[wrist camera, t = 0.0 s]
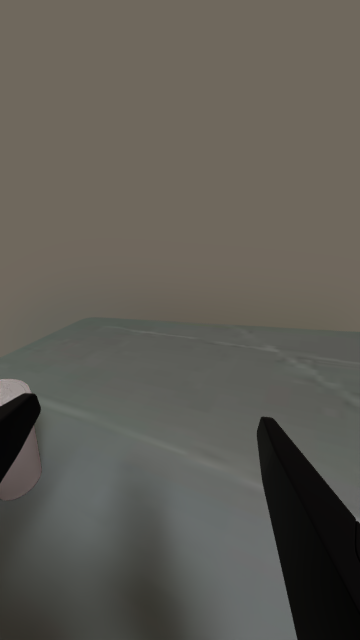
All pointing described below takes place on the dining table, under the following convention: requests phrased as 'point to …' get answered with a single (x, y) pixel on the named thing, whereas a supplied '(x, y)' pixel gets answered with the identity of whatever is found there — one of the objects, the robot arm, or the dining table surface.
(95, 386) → the dining table surface
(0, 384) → the smoothie
